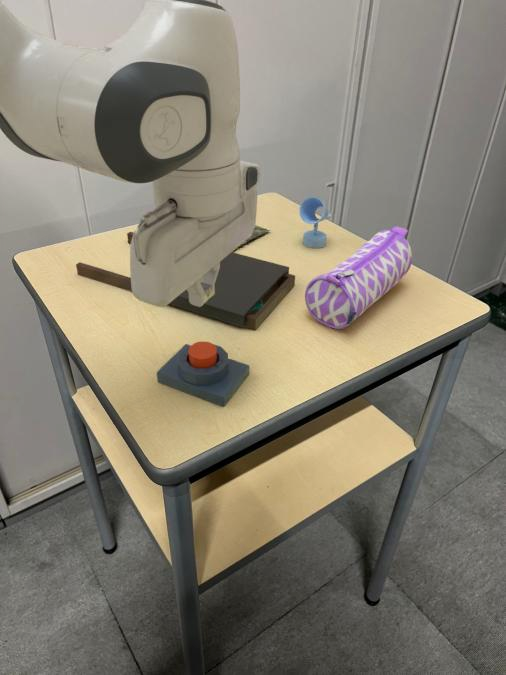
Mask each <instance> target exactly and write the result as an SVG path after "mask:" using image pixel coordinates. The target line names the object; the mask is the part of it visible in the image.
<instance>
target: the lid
mask: <svg viewBox="0 0 506 675" xmlns="http://www.w3.org/2000/svg"><path fill="white" fill-rule="evenodd" d="M286 273H288V274H290V266H286V265H283V264H278V263H276V262H272V261H267V260H263V259H259V258H257V257H253V256H248V255H245V254H242V253H237V252H234V251H232V252H231V253H230V254H229V255H228V256H226V257H225V258H224V259H223V260H222V261H220V269H219V272H218V275H217V278H216V282H215V294H214V295H213V296H212V297H211V298H210V299H209V300H208V301H207V302H205V303H204V304H203V305H202V306H201V307H198V306H195V305H192V304H191V303H190V302H189V293H188V291H187V289H186V290H185V291H184V292H183V293H181V294H180V295H179V296H178V297H176V298H175V299H174V300H173V301H172V302H170V303H169V304H168V305H171V306H174V307H177V308H179V309H184V310H187V311H190V312H193V313H196V314H199V315H202V316H205V317H208V318H211V319H215V320H218V321H222V322H223V323H224V322H225V323H226V324H227V323H228V324H231V325H234V326H237V327H239V328H245V327H244V326H245V316H246V315H247V314H250V313H251V312H252V311H251V310H252V309H253V308H254V307H255V306H256V305H257V304H258V303H259V302H260V300H263V298H264V297H265V296H266V295H268V293H269V292H270V291H271V290H272V289H273V288H274V287H275V286H276V285H277V284H276V283H277V282H278V281H279V280H280V279H281V278H282V277H283V276H284V275H285V274H286Z"/></svg>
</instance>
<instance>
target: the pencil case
mask: <svg viewBox="0 0 506 675" xmlns="http://www.w3.org/2000/svg"><path fill="white" fill-rule="evenodd" d="M408 233H409V230H408V229H406V228H403V227H400V226H398V225H397V226H396V225H395V226H393V227H392V229H391V230H390V229H383V230H380V231H378V232H377V233H375V234H374V235H373V236H372V237H371V239H369V240H368V241H367V242H365V243H364V244H362V245H361V246H360V247H359V248H358V249H357V250H356V251H355V252H353V254H352V255H351V256H349V257H347V259H345V260H344V261H342V262H340V263H338V264H337V265H336V266H335V267H334V268H333V269H332V270H330V271H328V272H327V273H325V274H320V275H317V276H315V277H313V278H311V280H310V281H309V282H308V283H307V285H306V288H305V291H304V301H305V306H306V308H307V311H308V313H309V314H310V315H311V317H313V318H314V319H315V320H316V321H317V322H319V323H320V324H321V325H324V326H327V327H328V328H331V329H335V330H342V329H345V328H347V327H348V326H349V325H352V324H353V322H355V320H357V318H359V317H361V315H363V314H364V312H365V311H367V310H368V309H369V308H370V307H372V305H373V304H375V303H377V301H378V300H380V299H381V298H383V296H385V295H386V294H387V293H388V292H389V291H390V290H392V289H393V288H394V287H395V286H396V284H398V283H399V282H400V281H401V279H402V278H403V277H404V276H405V275H406V274H408V272H409V270H410V269H411V266H412V263H413V251H412V247H411V245H410V242H409V241H408V240H407V239H406V238H405V236H406V235H407V234H408Z"/></svg>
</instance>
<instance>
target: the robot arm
mask: <svg viewBox="0 0 506 675" xmlns="http://www.w3.org/2000/svg"><path fill="white" fill-rule="evenodd" d="M141 8H142V9H141V12H140V13H139V16H138V17H137V18H136V20H135V21H134V23H133V24H132V25H131V26H130V27H129V28H128V29H127V30H126V31H125V32H124V33H123V34H121V35H120V36H119V37H118V38H116V39H115V40H113V41H112V42H110V43H108V44H106V45H104V48H97V47H90V46H84V45H77V44H72V43H67V42H64V41H60V40H57V39H55V38H51V37H48V36H46V35H43V34H41V33H39V32H37V31H35V30H33V29H32V28H30V27H28V26H27V25H25V24H24V23H22V22H21V21H20V20H19V19H18V18H17V17H16V16H15V15H14V14H13V12H11V11H10V9H9V8H8V7H7V6H6V4H5V3H4V2H3V1H2V0H0V131H1V132H2V133H3V134H4V135H5V137H6V138H7V139H8V140H9V142H11V143H12V144H13V145H14V146H16V147H17V148H18V149H19V150H21V151H23V152H24V153H26V154H28V155H31V156H33V157H36V158H41V159H45V160H49V161H55V162H60V163H61V162H62V163H64V164H67V165H70V166H73V167H76V168H79V169H82V170H85V171H88V172H91V173H95V174H98V175H100V176H104V177H107V178H110V179H113V180H117V181H121V182H125V183H133V184H148V183H151V182H152V193H153V201H154V205H155V207H156V208H155V209H152V210H150V211H147V212H145V213H143V214H142V216H141V217H140V219H139V223H138V224H137V227H136V229H135V230H134V231H133V237H132V240H131V244H130V248H129V268H130V269H129V271H130V278H131V288H132V291H131V293H132V296H134V297H135V299H137V300H138V301H140V302H143V303H145V304H148V305H151V306H155V307H157V308H165V307H167V306H168V305H170V304H169V303H170V302H172V301H173V300H174V299H175V298H176V297H178V296H179V295H180V294H181V293H183V292H184V291H185V290H186V289H187V291H188V293H189V302H190V303H191V304H192V305H195V306H198V307H201V306H202V305H203V304H204V303H205V302H207V301H208V300H209V299H210V298H211V297H212V296H213V295H214V294H215V282H216V278H217V275H218V272H219V269H220V261H222V260H223V259H224V258H225V257H226V256H228V255H229V254H230V253H231V252H234V251H235V250H236V249H238V248H239V247H241V246H242V245H243V244H242V243H243V242H245V241H246V240H247V239H248V238H250V237H251V235H252V233H253V230H254V227H255V225H257V224H256V222H257V213H258V212H257V211H258V188H257V185H259V183H260V181H261V167H260V164H258V163H257V164H256V163H253V162H249V161H246V160H241V151H240V147H239V144H238V139H237V124H238V119H239V115H240V110H241V80H240V79H241V77H240V76H241V75H240V58H239V50H238V41H237V35H236V30H235V26H234V22H233V20H232V16H231V14H230V13H229V12H228V11H227V10H226V9H225V8H224V7H223V6H221V4H218V3H216V2H213V1H210V0H143V3H142V7H141ZM241 244H242V245H241ZM240 245H241V246H240Z"/></svg>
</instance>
